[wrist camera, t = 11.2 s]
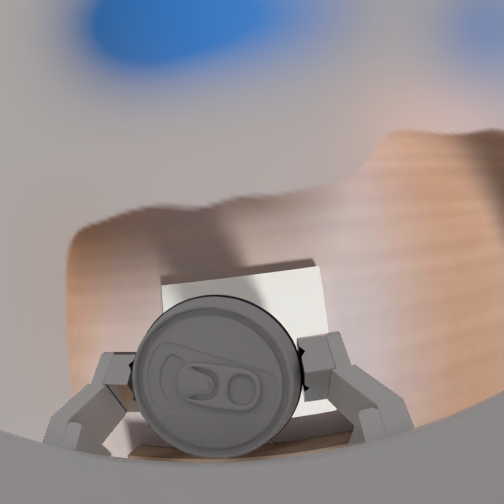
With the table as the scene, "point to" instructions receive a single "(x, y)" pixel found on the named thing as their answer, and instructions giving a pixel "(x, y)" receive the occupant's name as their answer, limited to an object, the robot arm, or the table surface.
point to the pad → (271, 306)
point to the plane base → (258, 454)
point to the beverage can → (217, 376)
